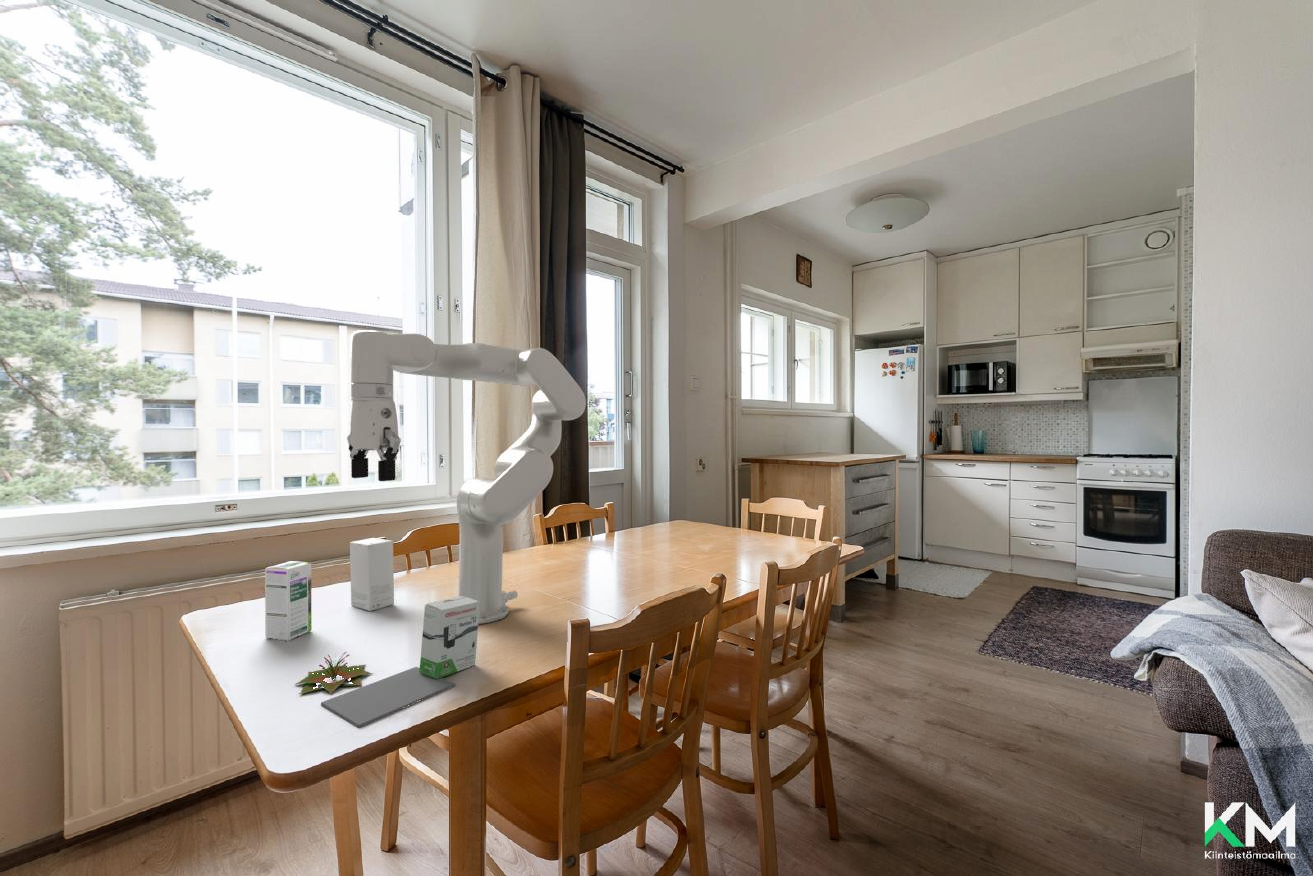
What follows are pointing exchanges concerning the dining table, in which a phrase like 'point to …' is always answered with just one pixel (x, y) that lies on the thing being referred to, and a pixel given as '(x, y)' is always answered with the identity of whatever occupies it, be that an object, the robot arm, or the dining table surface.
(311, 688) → the lily flower
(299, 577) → the syrup box
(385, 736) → the dining table surface
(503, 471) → the robot arm
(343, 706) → the mat
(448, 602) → the ink box
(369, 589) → the skincare box
